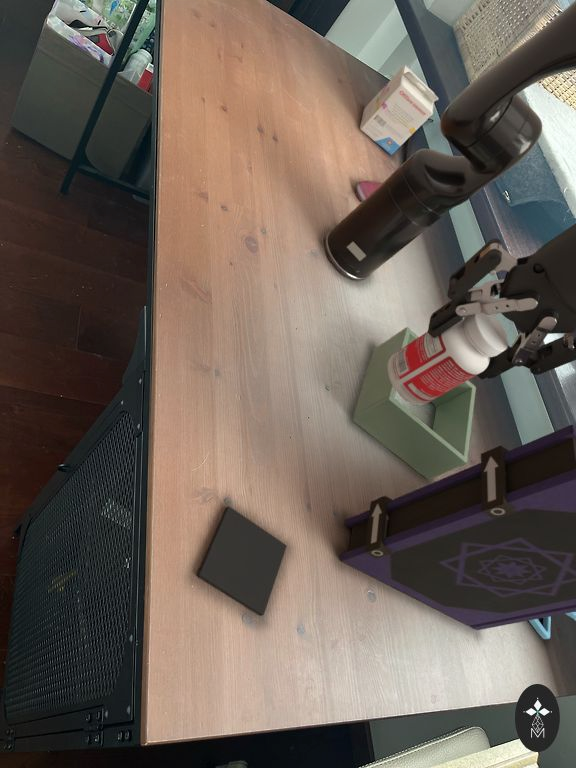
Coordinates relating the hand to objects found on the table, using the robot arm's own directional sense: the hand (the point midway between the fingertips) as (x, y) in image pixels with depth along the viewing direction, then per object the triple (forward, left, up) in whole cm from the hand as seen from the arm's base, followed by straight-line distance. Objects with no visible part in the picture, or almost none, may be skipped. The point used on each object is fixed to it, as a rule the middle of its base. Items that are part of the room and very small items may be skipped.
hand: (455, 350), depth 60 cm
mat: (+19, -3, -23) cm, 30 cm away
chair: (0, +41, -23) cm, 48 cm away
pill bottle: (0, 0, -7) cm, 7 cm away
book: (+8, +20, -23) cm, 32 cm away
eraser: (-56, -4, -23) cm, 61 cm away
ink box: (-76, -9, -23) cm, 80 cm away
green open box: (-14, +12, -23) cm, 30 cm away
